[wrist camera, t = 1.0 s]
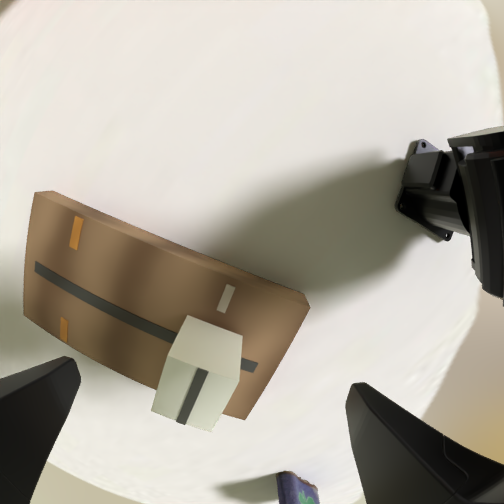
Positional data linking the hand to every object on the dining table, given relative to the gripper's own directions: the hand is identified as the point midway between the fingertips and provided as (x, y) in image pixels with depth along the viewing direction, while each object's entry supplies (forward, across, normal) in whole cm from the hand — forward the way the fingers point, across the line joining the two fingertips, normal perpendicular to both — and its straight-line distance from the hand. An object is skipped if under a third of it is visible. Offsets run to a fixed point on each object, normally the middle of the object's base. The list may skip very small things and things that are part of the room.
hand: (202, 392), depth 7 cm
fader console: (+13, +8, +4) cm, 16 cm away
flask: (+14, -9, +31) cm, 35 cm away
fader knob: (+10, +2, +6) cm, 12 cm away
